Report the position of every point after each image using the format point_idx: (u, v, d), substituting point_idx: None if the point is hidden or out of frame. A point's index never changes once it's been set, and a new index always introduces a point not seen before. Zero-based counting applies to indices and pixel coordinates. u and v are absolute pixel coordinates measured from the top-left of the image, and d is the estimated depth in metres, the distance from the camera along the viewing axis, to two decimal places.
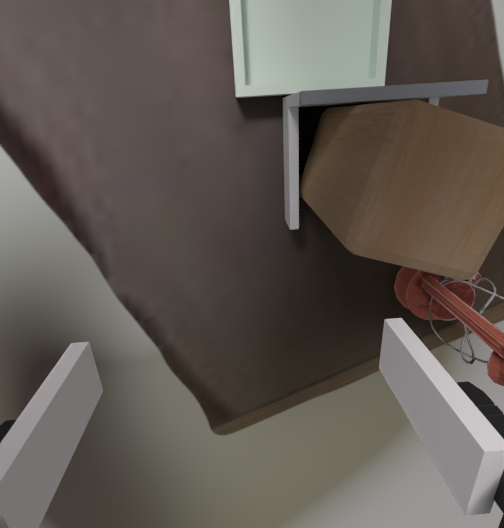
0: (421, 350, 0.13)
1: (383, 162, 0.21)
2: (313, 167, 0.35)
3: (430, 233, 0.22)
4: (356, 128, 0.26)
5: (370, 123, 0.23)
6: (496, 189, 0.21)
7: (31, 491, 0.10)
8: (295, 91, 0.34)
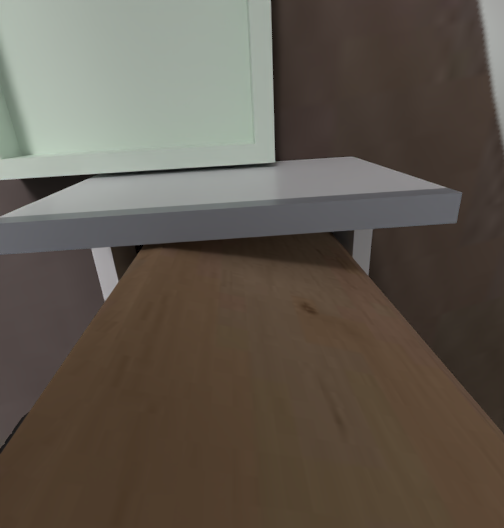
0: None
1: None
2: None
3: None
4: None
5: None
6: None
7: None
8: (103, 170, 0.18)
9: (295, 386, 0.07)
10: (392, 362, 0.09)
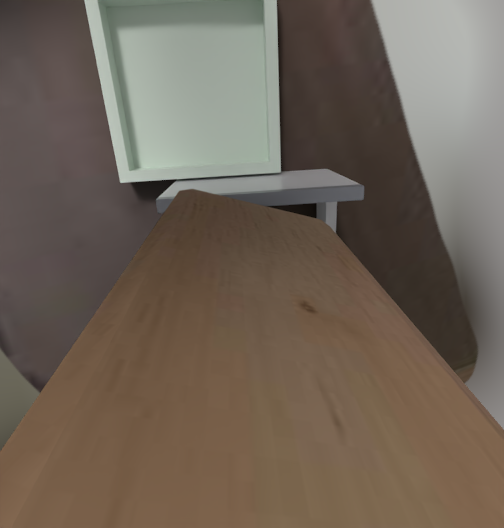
0: None
1: None
2: None
3: None
4: None
5: None
6: None
7: None
8: (184, 176, 0.32)
9: (293, 387, 0.07)
10: (392, 361, 0.09)
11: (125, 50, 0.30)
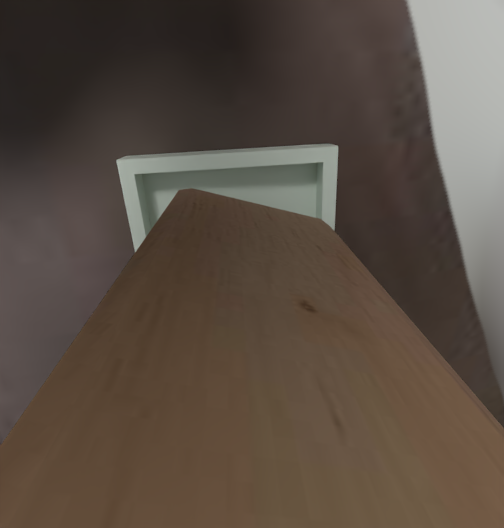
0: None
1: None
2: None
3: None
4: None
5: None
6: None
7: None
8: None
9: (292, 387, 0.07)
10: (393, 361, 0.08)
11: (161, 210, 0.26)
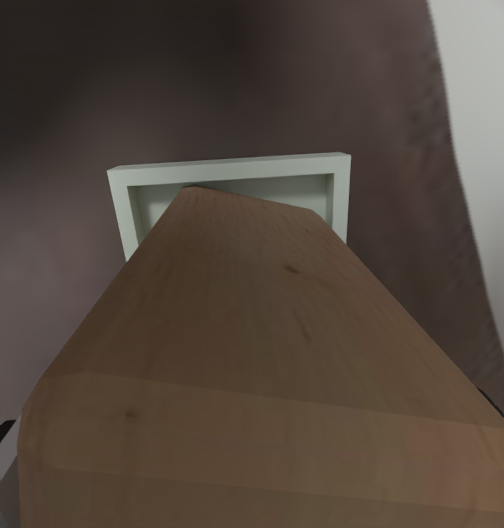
0: None
1: None
2: None
3: None
4: None
5: None
6: None
7: None
8: None
9: (274, 315, 0.09)
10: (357, 305, 0.11)
11: None
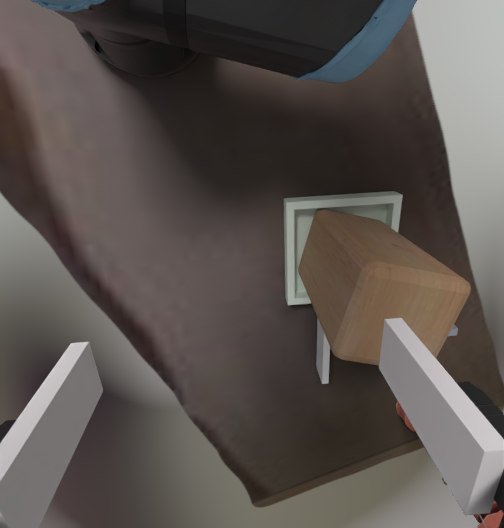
0: (421, 350, 0.13)
1: (355, 302, 0.29)
2: (309, 260, 0.44)
3: None
4: (338, 256, 0.34)
5: (347, 262, 0.32)
6: (437, 315, 0.30)
7: (31, 491, 0.10)
8: None
9: (401, 256, 0.32)
10: (421, 256, 0.33)
11: (299, 228, 0.47)
